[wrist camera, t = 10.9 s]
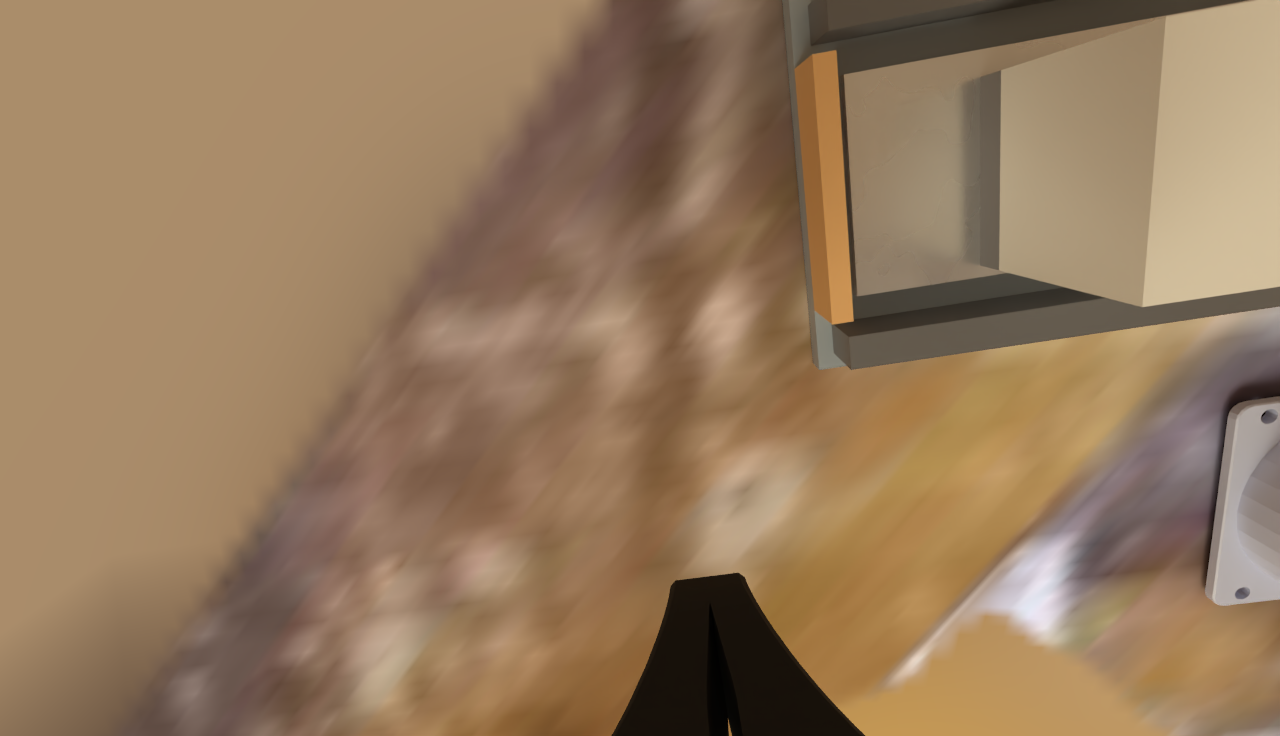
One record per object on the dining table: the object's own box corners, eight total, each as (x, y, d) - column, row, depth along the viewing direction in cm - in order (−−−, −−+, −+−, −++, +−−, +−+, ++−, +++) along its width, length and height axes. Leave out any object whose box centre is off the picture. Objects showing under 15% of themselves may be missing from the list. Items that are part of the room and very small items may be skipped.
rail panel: (1266, -97, 16) (1388, -152, 13) (1218, 302, 19) (1309, 321, 17) (782, -3, 17) (805, -38, 14) (813, 362, 20) (837, 390, 18)
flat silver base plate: (1248, 4, 16) (1286, -7, 15) (1222, 231, 18) (1255, 234, 17) (832, 80, 17) (844, 74, 16) (846, 290, 18) (857, 296, 18)
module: (1139, 48, 15) (1423, -31, 10) (1125, 242, 17) (1365, 273, 11) (980, 77, 16) (1166, 16, 10) (979, 265, 17) (1142, 306, 11)
